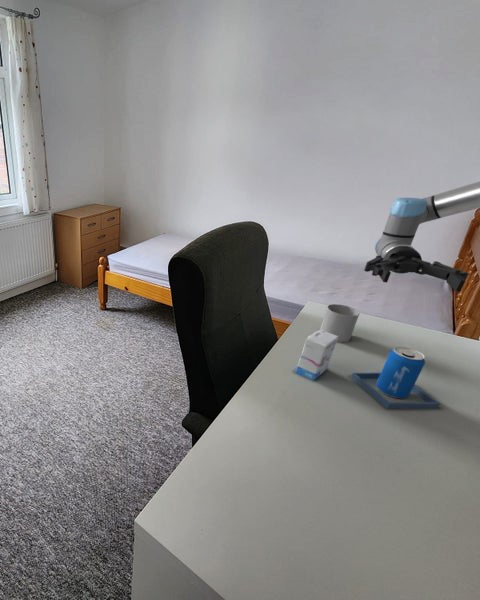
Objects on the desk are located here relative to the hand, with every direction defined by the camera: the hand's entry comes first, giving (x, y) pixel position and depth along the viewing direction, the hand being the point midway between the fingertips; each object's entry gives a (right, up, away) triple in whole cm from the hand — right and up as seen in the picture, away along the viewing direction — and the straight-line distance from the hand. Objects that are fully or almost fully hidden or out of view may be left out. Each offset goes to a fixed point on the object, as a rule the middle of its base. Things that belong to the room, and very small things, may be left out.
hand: (422, 281), depth 83 cm
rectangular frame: (-4, -29, +4) cm, 29 cm away
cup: (0, -17, +29) cm, 34 cm away
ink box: (-19, -25, +12) cm, 34 cm away
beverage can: (-4, -28, +4) cm, 29 cm away
